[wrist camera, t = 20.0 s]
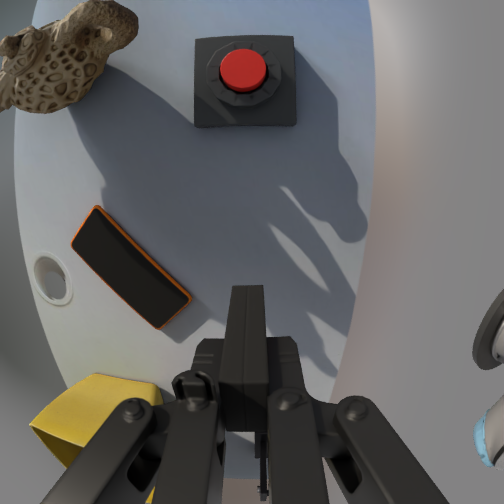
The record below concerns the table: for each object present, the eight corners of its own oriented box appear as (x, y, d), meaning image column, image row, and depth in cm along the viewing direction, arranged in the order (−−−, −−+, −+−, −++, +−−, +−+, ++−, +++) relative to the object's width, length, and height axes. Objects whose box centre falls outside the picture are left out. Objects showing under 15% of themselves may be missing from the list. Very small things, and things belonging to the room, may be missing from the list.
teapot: (29, 139, 27) (-53, 147, 13) (27, 68, 23) (-46, 56, 9) (166, 82, 26) (99, 37, 12) (158, 5, 22) (107, -60, 8)
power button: (264, 54, 22) (265, 48, 20) (265, 91, 23) (266, 87, 22) (222, 56, 22) (220, 49, 20) (222, 93, 23) (220, 88, 22)
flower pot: (191, 438, 45) (177, 510, 29) (105, 421, 45) (78, 481, 29) (175, 372, 39) (146, 464, 23) (73, 354, 39) (26, 422, 23)
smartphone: (98, 202, 30) (94, 203, 29) (194, 296, 34) (193, 299, 33) (71, 244, 32) (67, 246, 31) (159, 328, 36) (157, 332, 35)
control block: (291, 43, 24) (295, 29, 20) (293, 126, 28) (299, 122, 24) (198, 45, 24) (191, 32, 21) (198, 128, 28) (190, 124, 24)
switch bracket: (289, 452, 46) (293, 503, 34) (255, 453, 47) (254, 505, 35) (294, 427, 43) (300, 486, 31) (254, 428, 43) (254, 488, 31)
